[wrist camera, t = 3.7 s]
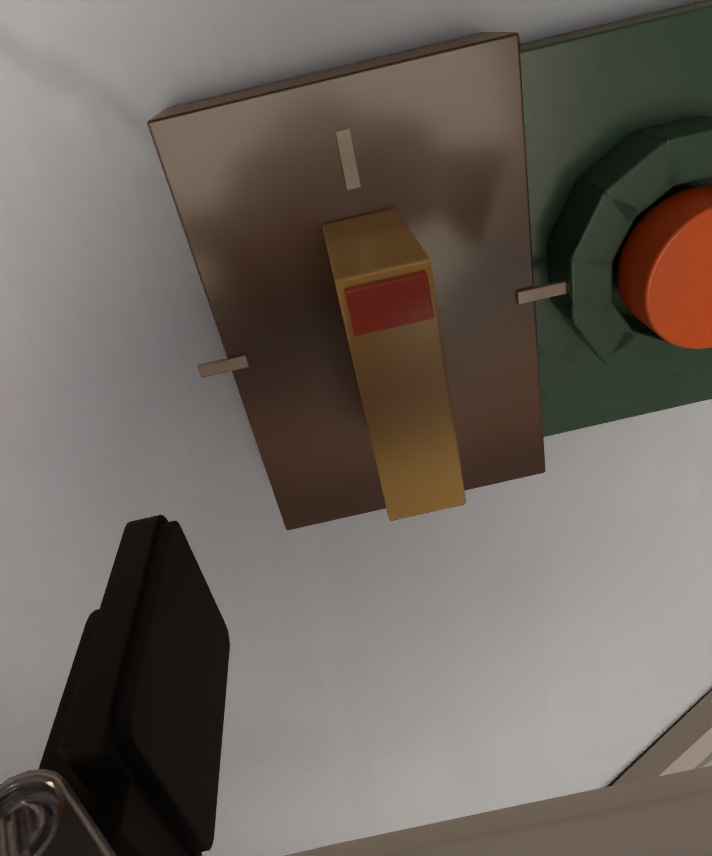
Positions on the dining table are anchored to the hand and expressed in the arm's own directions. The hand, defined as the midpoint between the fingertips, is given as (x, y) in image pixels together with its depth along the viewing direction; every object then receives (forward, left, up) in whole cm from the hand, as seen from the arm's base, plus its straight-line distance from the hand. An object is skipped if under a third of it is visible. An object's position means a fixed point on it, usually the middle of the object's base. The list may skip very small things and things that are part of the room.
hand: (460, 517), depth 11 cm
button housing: (+9, 0, -12) cm, 15 cm away
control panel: (0, 0, -12) cm, 12 cm away
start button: (+9, 0, -9) cm, 12 cm away
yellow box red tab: (0, 0, -9) cm, 9 cm away
